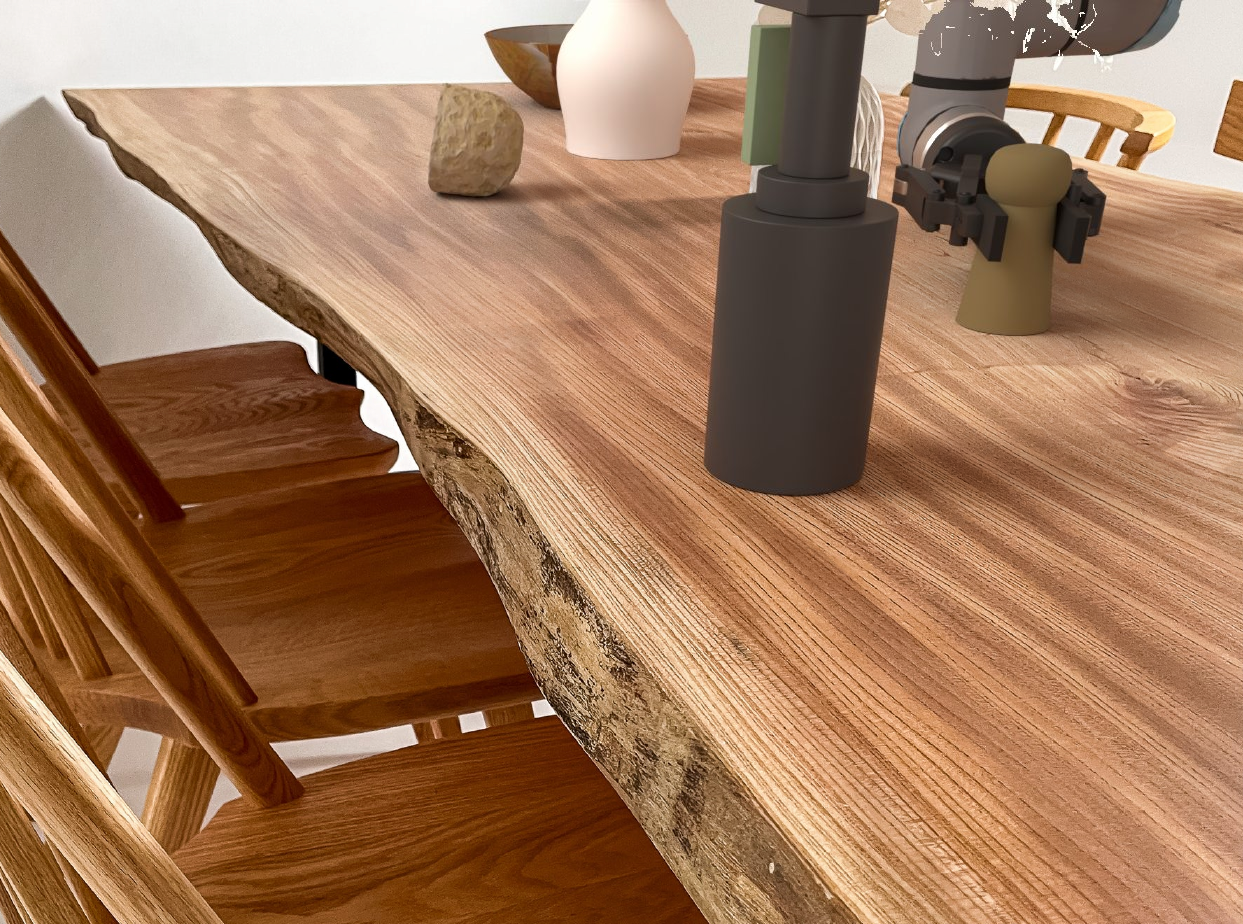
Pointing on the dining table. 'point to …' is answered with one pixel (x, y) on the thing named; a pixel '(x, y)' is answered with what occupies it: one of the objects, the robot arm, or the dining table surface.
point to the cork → (1019, 243)
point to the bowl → (530, 58)
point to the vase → (625, 81)
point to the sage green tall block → (765, 94)
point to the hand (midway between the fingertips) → (1038, 239)
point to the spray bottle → (802, 281)
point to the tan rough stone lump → (474, 143)
